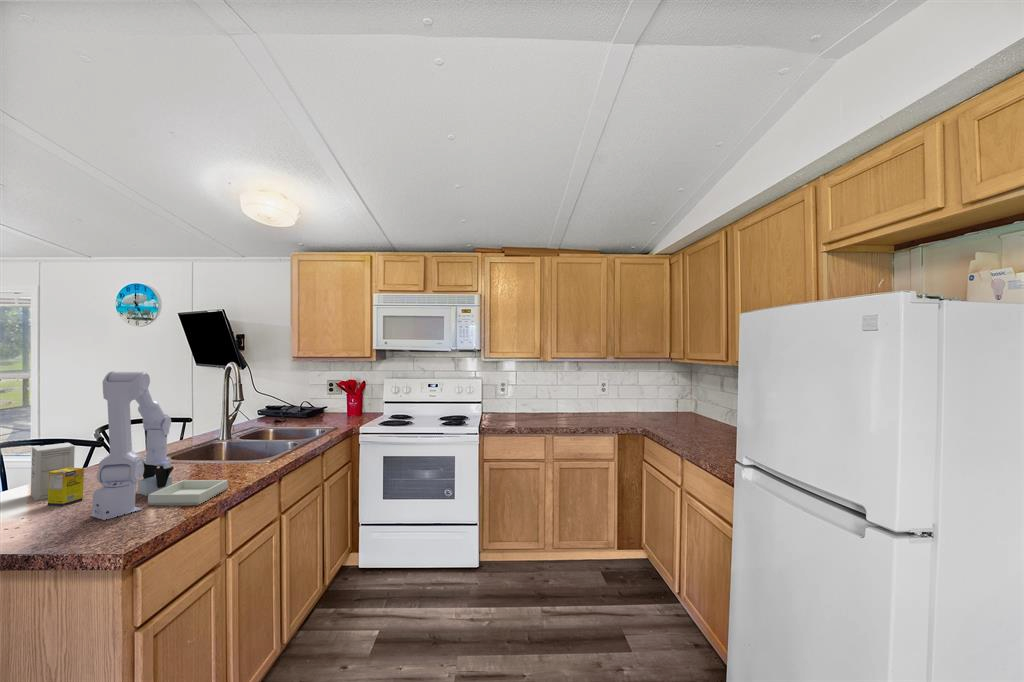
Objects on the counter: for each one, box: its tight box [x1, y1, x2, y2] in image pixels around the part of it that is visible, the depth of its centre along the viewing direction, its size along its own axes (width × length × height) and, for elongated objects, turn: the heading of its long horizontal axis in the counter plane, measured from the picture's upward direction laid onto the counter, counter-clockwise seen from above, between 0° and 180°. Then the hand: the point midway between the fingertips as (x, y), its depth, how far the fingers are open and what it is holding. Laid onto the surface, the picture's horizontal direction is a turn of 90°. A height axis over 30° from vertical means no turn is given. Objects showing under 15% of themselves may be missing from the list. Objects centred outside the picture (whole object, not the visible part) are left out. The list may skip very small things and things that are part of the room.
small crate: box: [137, 475, 173, 497], centre depth 154 cm, size 8×5×5 cm, turn 156°
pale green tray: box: [147, 479, 229, 506], centre depth 149 cm, size 16×16×4 cm
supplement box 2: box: [30, 442, 76, 501], centre depth 150 cm, size 10×9×17 cm
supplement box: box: [47, 467, 85, 507], centre depth 142 cm, size 6×6×11 cm
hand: (155, 485), depth 154 cm, fingers open, 7 cm apart
